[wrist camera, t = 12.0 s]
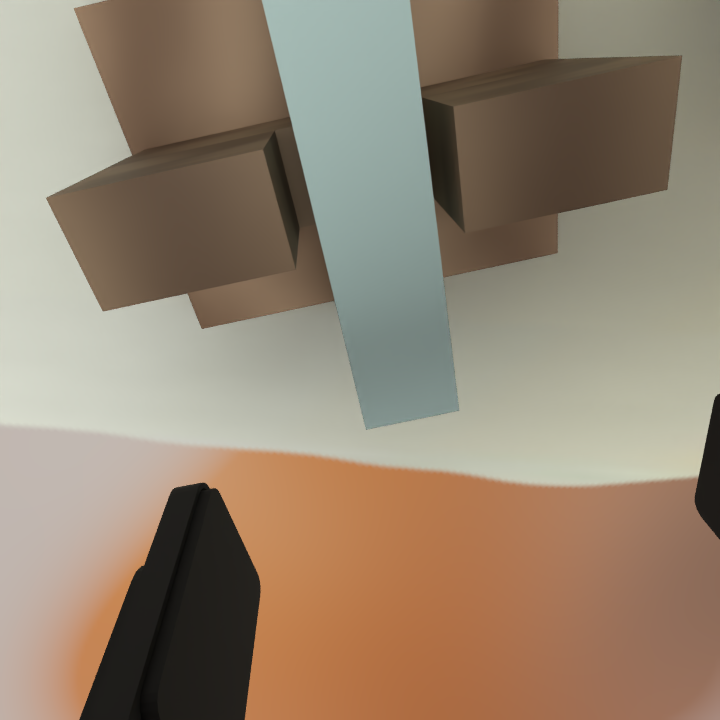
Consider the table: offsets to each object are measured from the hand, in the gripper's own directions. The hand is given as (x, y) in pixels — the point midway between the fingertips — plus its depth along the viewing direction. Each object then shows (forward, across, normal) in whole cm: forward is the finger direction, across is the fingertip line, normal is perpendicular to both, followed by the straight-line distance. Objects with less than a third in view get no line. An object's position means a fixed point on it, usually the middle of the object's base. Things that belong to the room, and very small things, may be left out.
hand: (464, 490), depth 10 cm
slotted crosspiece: (+14, +1, -4) cm, 14 cm away
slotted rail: (+15, +1, -4) cm, 16 cm away
